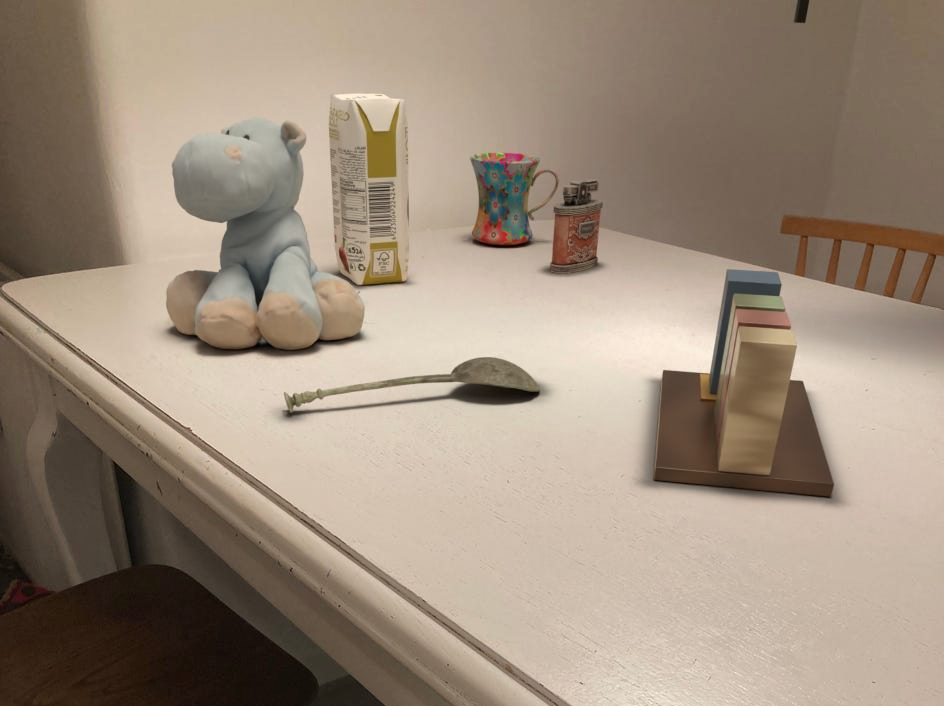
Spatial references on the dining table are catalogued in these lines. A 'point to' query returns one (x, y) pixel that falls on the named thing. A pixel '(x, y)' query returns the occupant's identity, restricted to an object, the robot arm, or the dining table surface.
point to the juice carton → (370, 187)
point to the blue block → (733, 285)
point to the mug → (505, 196)
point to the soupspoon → (439, 380)
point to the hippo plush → (255, 245)
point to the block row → (744, 413)
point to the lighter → (576, 228)
